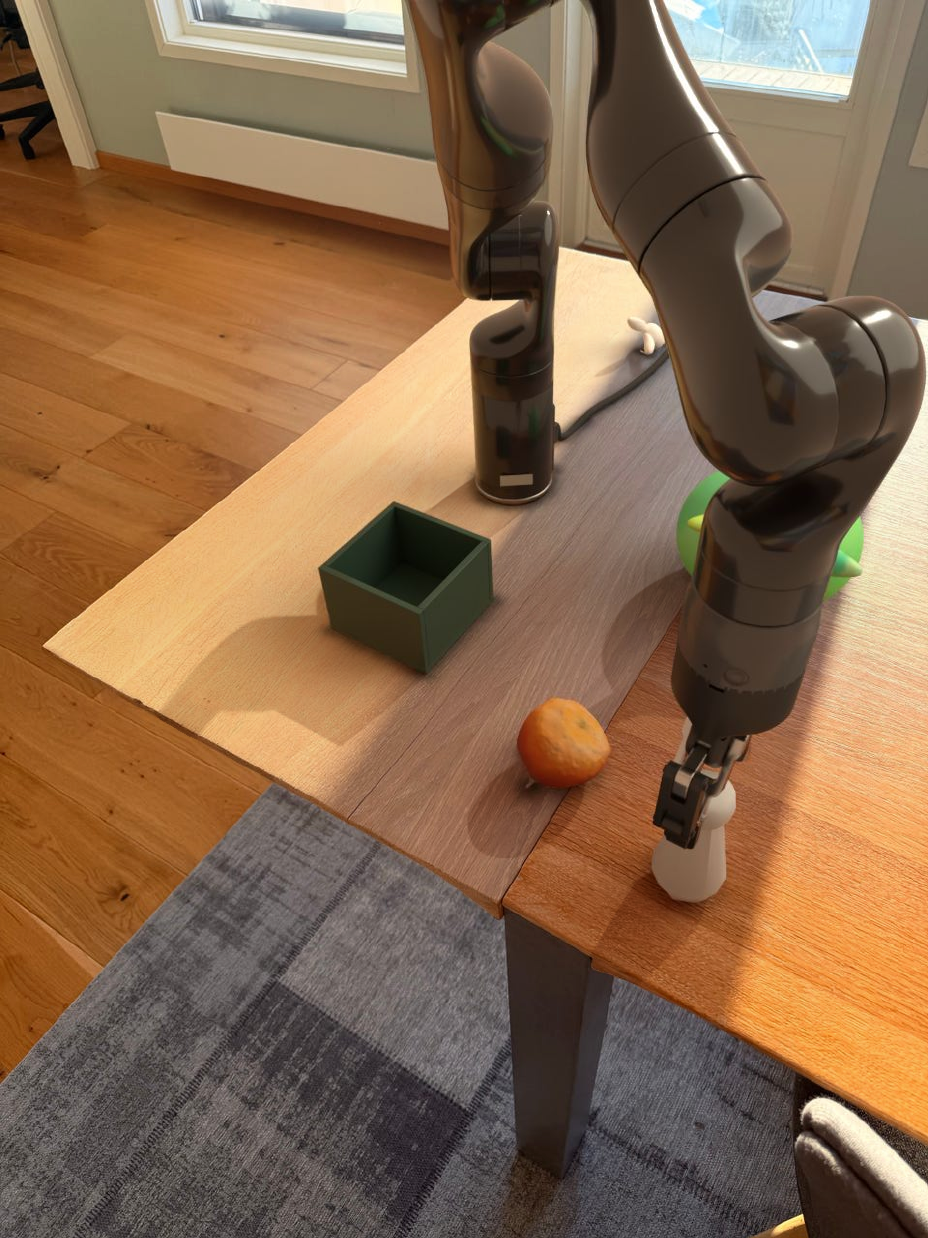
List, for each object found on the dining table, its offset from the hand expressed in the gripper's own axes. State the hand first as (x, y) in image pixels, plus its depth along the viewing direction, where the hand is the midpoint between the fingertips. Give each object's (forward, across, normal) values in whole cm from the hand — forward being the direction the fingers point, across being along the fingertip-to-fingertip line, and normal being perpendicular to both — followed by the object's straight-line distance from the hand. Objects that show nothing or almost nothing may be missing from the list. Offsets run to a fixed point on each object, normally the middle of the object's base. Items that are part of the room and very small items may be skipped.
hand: (705, 796), depth 64 cm
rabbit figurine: (+12, -74, -40) cm, 85 cm away
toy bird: (+12, -35, -8) cm, 38 cm away
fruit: (+12, -4, -14) cm, 19 cm away
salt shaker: (+12, 0, 0) cm, 13 cm away
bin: (+12, -13, -37) cm, 41 cm away
